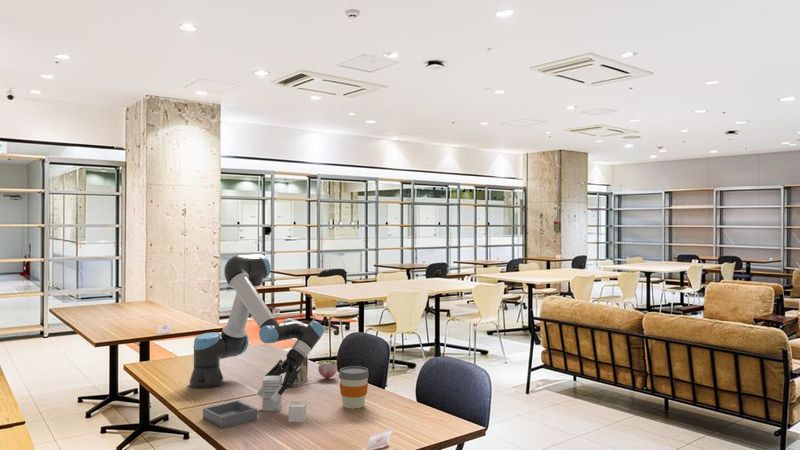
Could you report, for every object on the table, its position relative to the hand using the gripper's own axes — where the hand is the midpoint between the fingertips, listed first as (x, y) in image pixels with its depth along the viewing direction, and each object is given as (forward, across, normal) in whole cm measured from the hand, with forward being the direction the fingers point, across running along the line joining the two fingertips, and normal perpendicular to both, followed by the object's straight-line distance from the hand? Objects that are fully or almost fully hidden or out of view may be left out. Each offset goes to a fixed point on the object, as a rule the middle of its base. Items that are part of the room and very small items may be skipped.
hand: (265, 397), depth 234 cm
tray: (+15, 0, +8) cm, 17 cm away
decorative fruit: (-30, +21, -38) cm, 53 cm away
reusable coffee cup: (-18, -20, -25) cm, 36 cm away
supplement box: (+1, 0, -6) cm, 6 cm away
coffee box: (-20, +26, -28) cm, 43 cm away
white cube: (+2, -18, -6) cm, 19 cm away
